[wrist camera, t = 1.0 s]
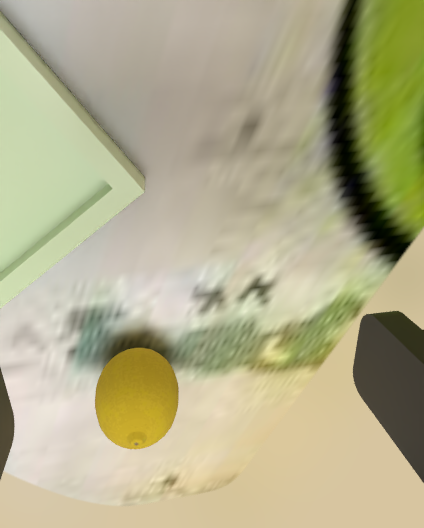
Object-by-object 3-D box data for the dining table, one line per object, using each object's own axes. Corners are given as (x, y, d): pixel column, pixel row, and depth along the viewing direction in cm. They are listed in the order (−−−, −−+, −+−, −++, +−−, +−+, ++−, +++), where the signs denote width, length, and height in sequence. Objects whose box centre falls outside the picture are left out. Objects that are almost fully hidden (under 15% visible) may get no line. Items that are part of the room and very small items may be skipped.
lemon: (92, 334, 29) (76, 421, 22) (167, 319, 30) (174, 401, 23) (111, 389, 32) (102, 483, 25) (180, 375, 32) (190, 463, 25)
